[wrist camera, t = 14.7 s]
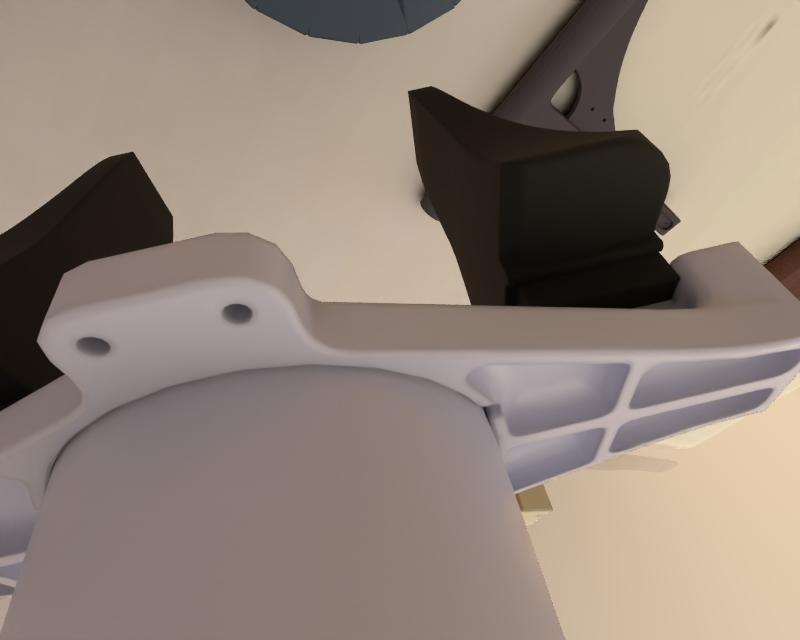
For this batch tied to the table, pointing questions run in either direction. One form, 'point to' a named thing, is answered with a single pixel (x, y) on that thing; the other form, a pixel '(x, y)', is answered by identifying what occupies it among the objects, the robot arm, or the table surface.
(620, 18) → the bracket
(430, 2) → the jar
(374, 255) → the table surface
